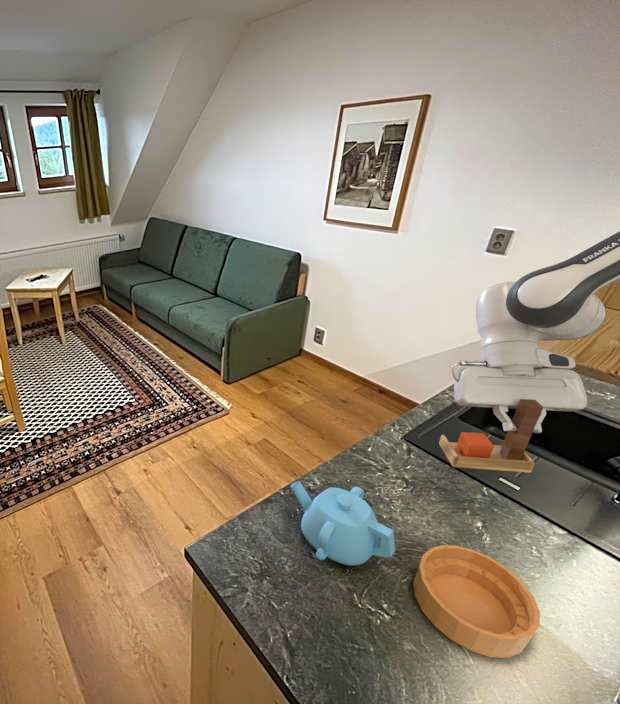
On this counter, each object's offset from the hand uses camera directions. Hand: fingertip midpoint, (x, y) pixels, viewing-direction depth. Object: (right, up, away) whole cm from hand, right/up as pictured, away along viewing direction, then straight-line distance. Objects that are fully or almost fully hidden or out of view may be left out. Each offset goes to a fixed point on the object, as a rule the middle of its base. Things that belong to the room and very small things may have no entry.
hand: (522, 431), depth 76 cm
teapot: (-34, -23, +4) cm, 41 cm away
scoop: (-3, -6, +5) cm, 9 cm away
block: (-6, -6, +5) cm, 9 cm away
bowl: (-18, -28, -9) cm, 34 cm away
